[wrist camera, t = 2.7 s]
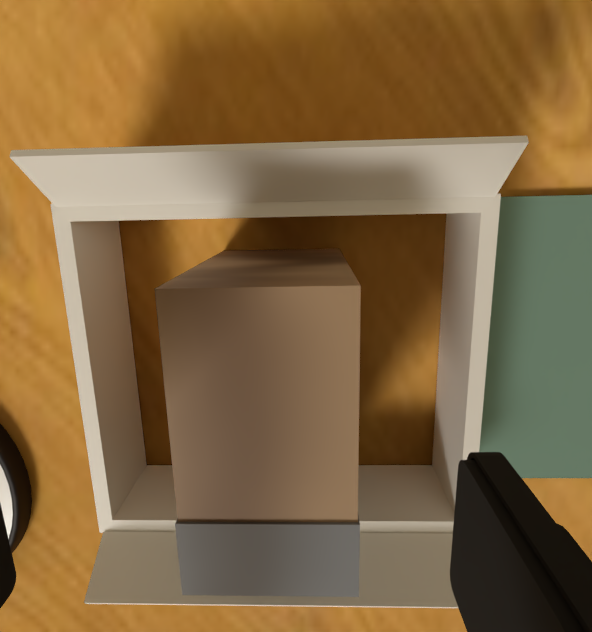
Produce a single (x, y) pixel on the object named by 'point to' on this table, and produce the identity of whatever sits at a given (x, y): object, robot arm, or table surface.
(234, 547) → the walnut box
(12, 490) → the magnifying glass
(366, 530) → the carton
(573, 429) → the pad
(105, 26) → the table surface
